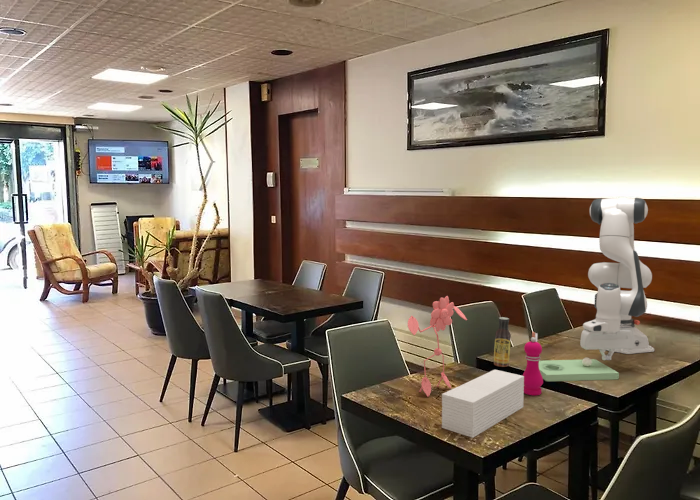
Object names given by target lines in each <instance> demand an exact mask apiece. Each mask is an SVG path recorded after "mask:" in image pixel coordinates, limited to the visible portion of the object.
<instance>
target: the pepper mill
mask: <svg viewBox="0 0 700 500" xmlns="http://www.w3.org/2000/svg"><path fill="white" fill-rule="evenodd" d="M535 341H536V338H534V337H532V336H531V338H530V341H528V342H526V343H525V344H524V346H523V350H524V352H525V355H524V356H525V360H526V366H525V369H524V372H523V374H522V376H524V387H523V388H524V390H523V391H524V393H523V394H525V395H529V396H540V395H541V394H542V385H543V384H544V379H543V378H542V375H541V373H540V370H539V361H541V354H542V352H543V347H542V345H541V343H540V342H538V341H537V342H535Z"/></svg>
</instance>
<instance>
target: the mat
mask: <svg viewBox="0 0 700 500" xmlns="http://www.w3.org/2000/svg"><path fill="white" fill-rule="evenodd" d="M532 337H534V338H536V341H535V342H538V332H537V333H536V332H534V331H531V338H532ZM583 359H584V358H583ZM583 359H553V360H552V359H550V360H539V370H540V373H541V375H542V378H543V381H545V382H570V381H571V382H573V381H579V382H580V381H605V380H607V381H608V380H611V381H612V380H619V377H620V373H619V372H618V371H616V370H615V369H613V368H612V367H609V366H608V365H606V364H605V363H603V362H601V361H599V360H597V359H596V358H590V359H591V361H592V364H591V365H590V366H584V365H583V363H582V360H583Z"/></svg>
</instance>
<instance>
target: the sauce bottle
mask: <svg viewBox="0 0 700 500" xmlns="http://www.w3.org/2000/svg"><path fill="white" fill-rule="evenodd" d="M509 324H510V318H508V317H506V316H505V317H503V316H501V317H498V328H497V329H496V332H495V337H494V348H493V351H494V352H493V365H494V366H496V367H499V368H507V367H509V365H510V357H511V356H510V353H511V337H512V336H511V332H510V330H509Z"/></svg>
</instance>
